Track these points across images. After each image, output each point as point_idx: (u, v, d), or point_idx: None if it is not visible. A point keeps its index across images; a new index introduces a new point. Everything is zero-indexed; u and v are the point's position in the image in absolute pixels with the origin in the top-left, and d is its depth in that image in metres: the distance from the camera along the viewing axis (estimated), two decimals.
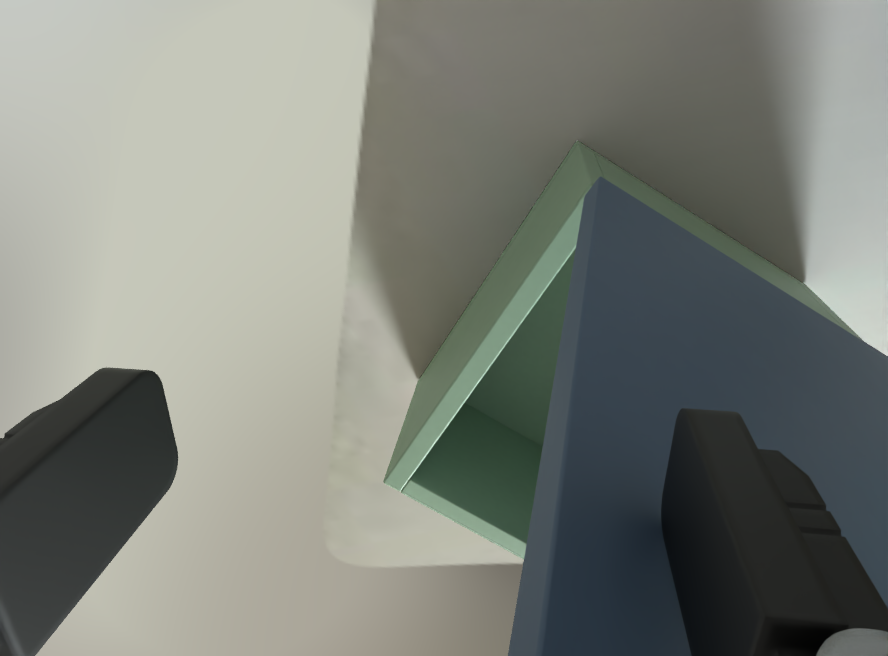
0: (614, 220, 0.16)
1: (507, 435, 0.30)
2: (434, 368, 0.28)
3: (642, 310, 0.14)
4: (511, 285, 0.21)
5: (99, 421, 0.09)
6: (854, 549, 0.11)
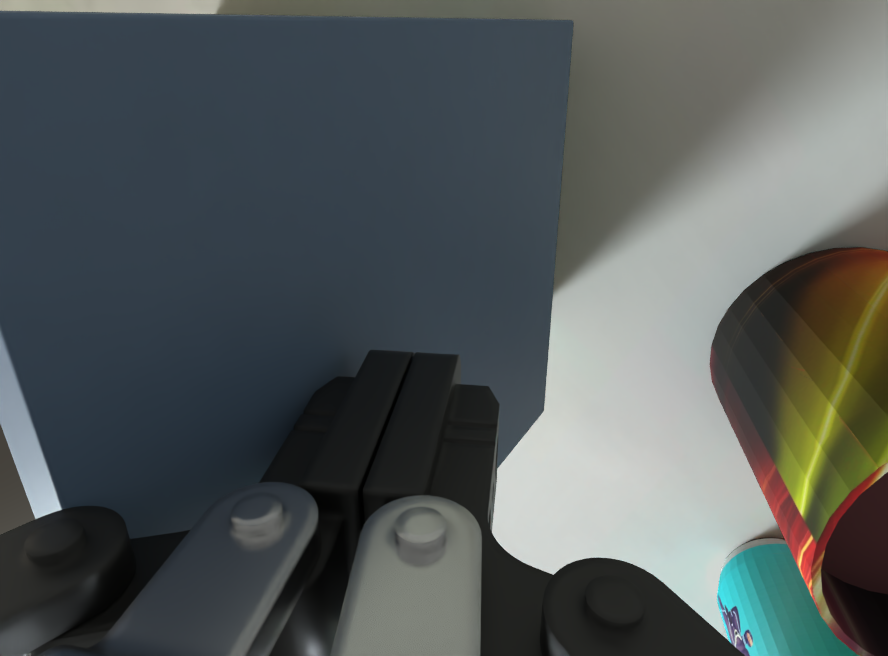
0: (539, 47, 0.14)
1: None
2: None
3: (468, 101, 0.12)
4: None
5: (398, 398, 0.09)
6: None
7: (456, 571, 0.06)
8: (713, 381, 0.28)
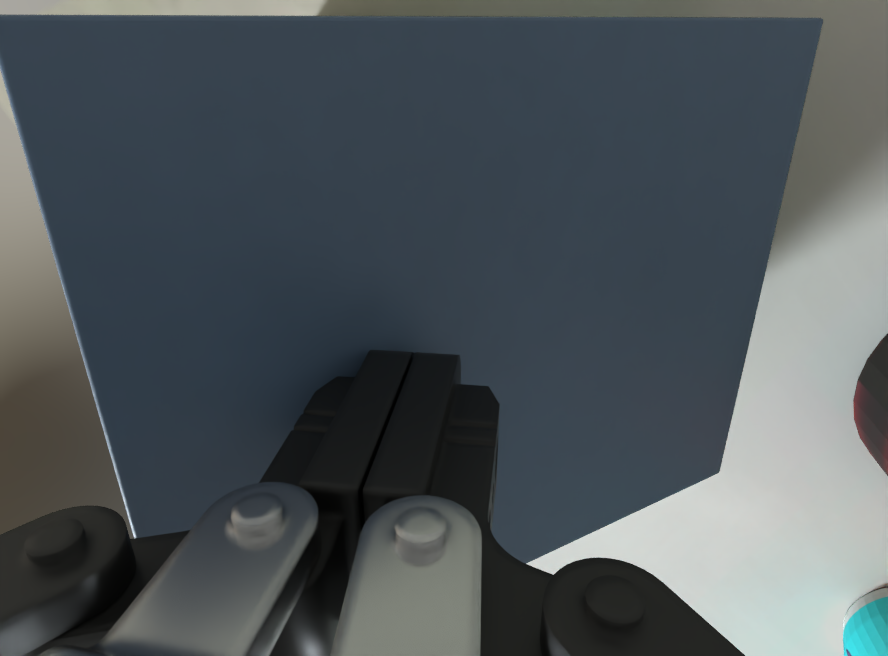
0: (749, 51, 0.12)
1: None
2: None
3: (614, 108, 0.11)
4: None
5: None
6: None
7: (456, 571, 0.06)
8: (858, 419, 0.25)
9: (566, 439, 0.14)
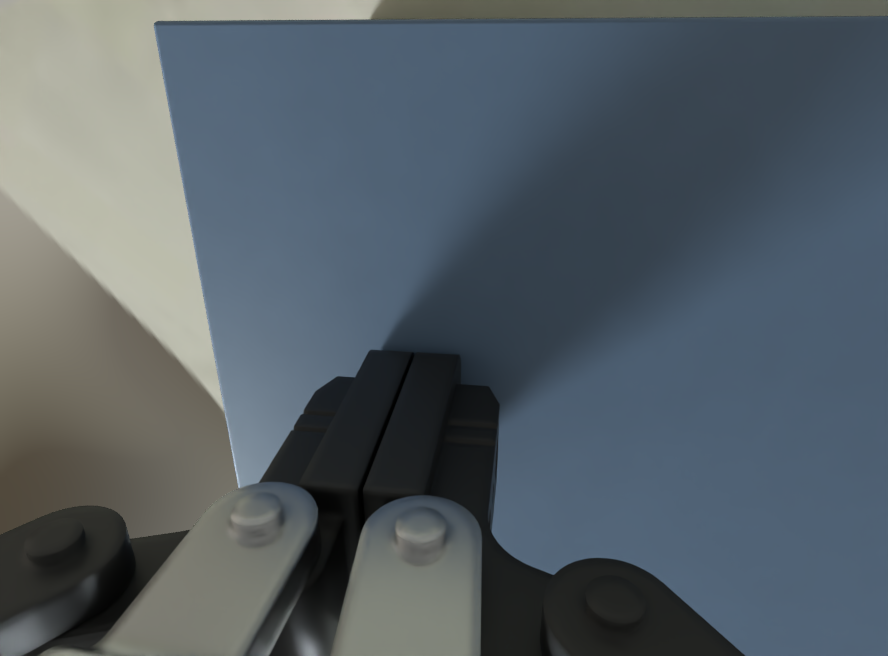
0: None
1: None
2: None
3: (808, 139, 0.08)
4: None
5: (398, 398, 0.09)
6: (517, 418, 0.11)
7: (456, 571, 0.06)
8: None
9: (691, 537, 0.11)
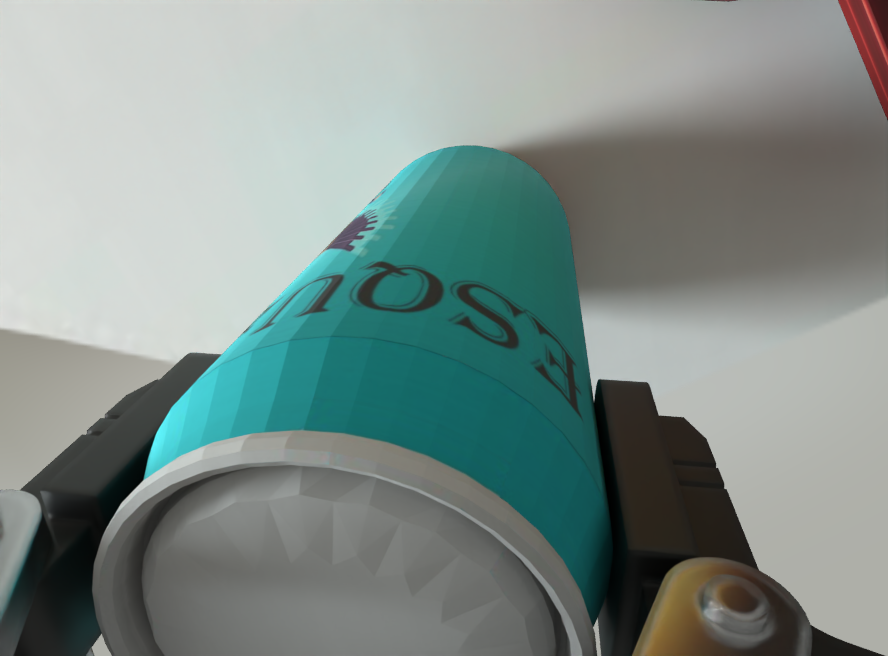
0: None
1: None
2: None
3: None
4: None
5: None
6: None
7: None
8: None
9: None
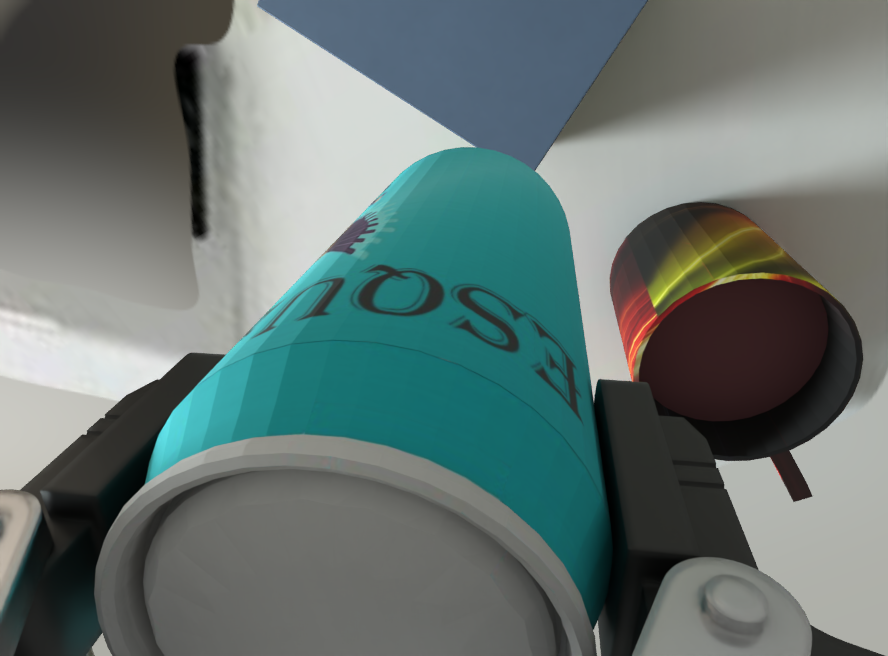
0: None
1: None
2: None
3: None
4: None
5: None
6: None
7: None
8: (614, 262, 0.39)
9: (457, 44, 0.27)
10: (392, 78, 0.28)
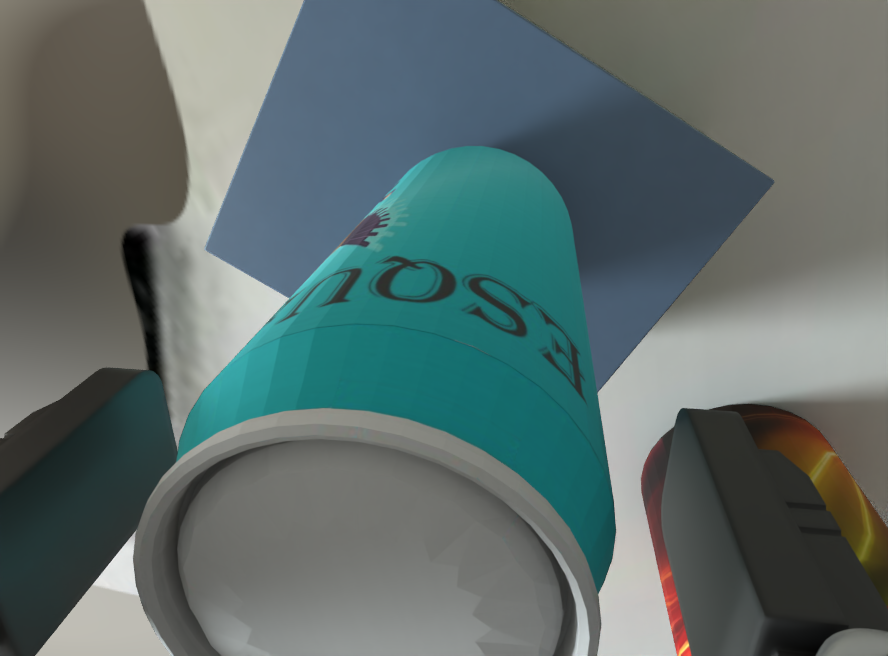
0: (701, 159, 0.18)
1: None
2: None
3: (588, 124, 0.18)
4: None
5: (99, 421, 0.09)
6: None
7: None
8: (647, 464, 0.33)
9: None
10: None
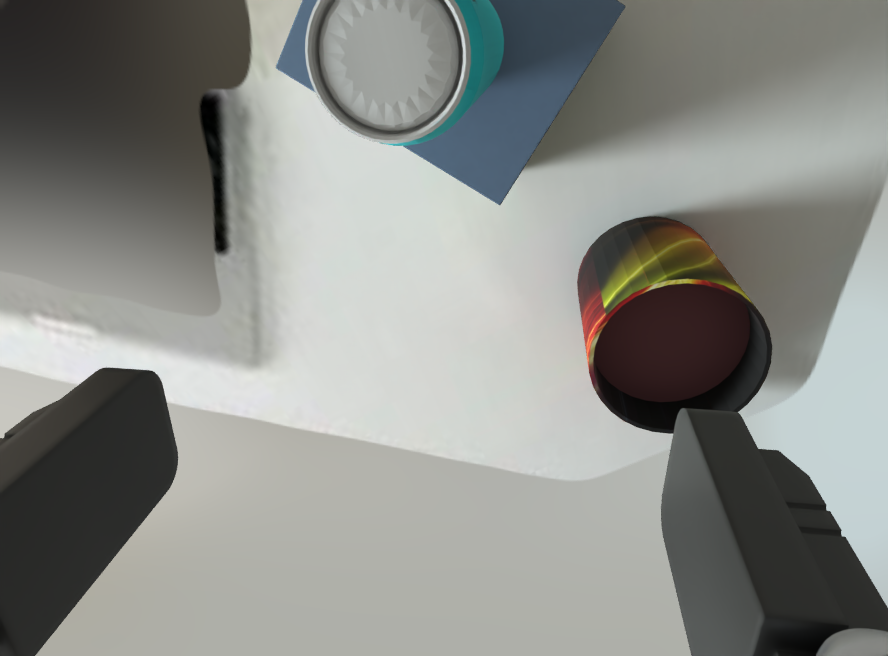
0: None
1: None
2: None
3: None
4: None
5: (99, 421, 0.09)
6: None
7: None
8: (580, 268, 0.45)
9: None
10: None
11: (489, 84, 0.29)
